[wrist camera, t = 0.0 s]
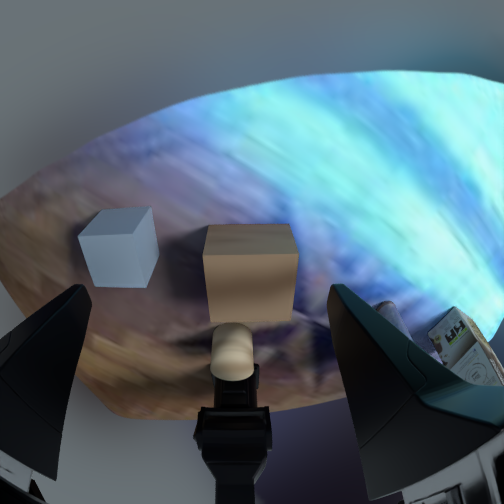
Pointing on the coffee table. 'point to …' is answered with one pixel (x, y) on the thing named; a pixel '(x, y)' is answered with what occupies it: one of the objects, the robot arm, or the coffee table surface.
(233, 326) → the beech cylinder
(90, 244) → the blue cube
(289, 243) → the tan block
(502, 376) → the coffee box
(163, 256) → the coffee table surface
